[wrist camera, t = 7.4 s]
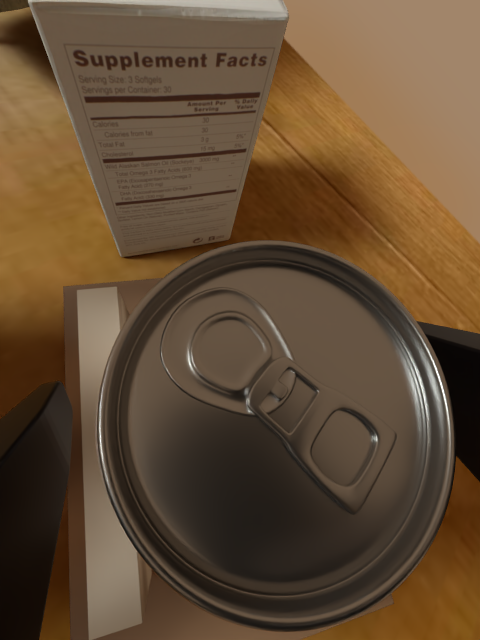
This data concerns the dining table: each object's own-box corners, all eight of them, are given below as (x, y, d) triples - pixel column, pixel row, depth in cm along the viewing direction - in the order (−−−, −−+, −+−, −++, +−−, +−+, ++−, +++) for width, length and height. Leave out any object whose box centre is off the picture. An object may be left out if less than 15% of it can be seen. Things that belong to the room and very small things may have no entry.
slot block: (378, 591, 16) (457, 656, 11) (82, 700, 13) (27, 852, 8) (295, 274, 21) (327, 233, 16) (70, 295, 18) (33, 251, 13)
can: (207, 332, 17) (257, 160, 6) (297, 408, 17) (530, 374, 6) (119, 427, 15) (-61, 433, 4) (221, 519, 14) (360, 838, 3)
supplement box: (98, 167, 21) (-7, -167, 9) (204, 158, 23) (231, -127, 11) (117, 262, 19) (16, -5, 7) (232, 244, 21) (299, 8, 9)
